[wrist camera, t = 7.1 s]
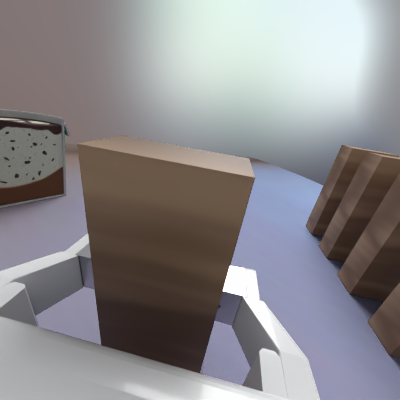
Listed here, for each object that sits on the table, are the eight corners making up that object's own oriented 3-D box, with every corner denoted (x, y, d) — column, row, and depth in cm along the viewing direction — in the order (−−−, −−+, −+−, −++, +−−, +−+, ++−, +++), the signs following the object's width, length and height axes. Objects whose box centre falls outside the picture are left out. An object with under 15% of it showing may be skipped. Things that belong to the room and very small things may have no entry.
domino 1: (193, 394, 10) (255, 177, 5) (104, 368, 10) (77, 143, 5) (200, 344, 12) (248, 158, 7) (126, 324, 13) (122, 135, 8)
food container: (61, 179, 31) (50, 112, 27) (78, 192, 28) (68, 118, 24) (-64, 197, 22) (-110, 100, 18) (-61, 220, 19) (-117, 108, 15)
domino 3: (371, 268, 22) (442, 166, 17) (326, 258, 22) (382, 156, 17) (359, 254, 24) (419, 160, 19) (318, 245, 25) (366, 151, 20)
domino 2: (348, 242, 26) (399, 155, 21) (311, 234, 27) (352, 148, 22) (340, 232, 29) (384, 152, 24) (305, 225, 29) (341, 145, 24)
